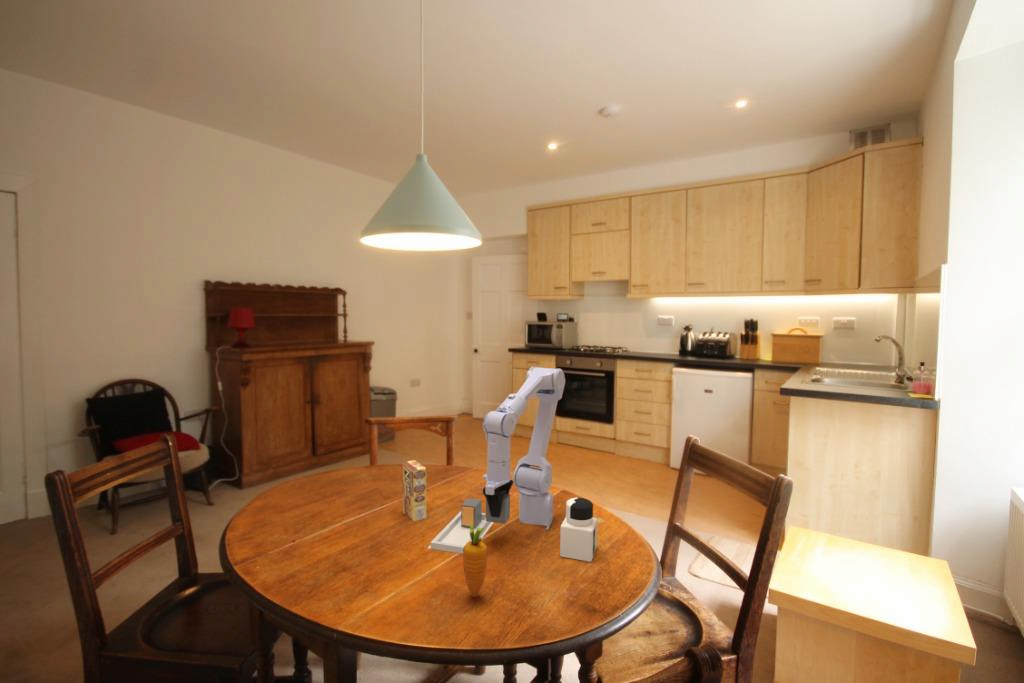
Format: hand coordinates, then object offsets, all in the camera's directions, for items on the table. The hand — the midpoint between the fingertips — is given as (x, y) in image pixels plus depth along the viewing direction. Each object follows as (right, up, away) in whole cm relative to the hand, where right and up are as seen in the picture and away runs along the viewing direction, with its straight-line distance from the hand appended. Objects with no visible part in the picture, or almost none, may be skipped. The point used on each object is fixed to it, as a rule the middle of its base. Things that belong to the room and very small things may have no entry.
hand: (498, 512), depth 117 cm
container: (+20, -9, -2) cm, 22 cm away
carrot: (-4, -10, -21) cm, 24 cm away
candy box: (-25, -8, +17) cm, 31 cm away
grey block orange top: (0, -2, 0) cm, 2 cm away
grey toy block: (-8, -7, +11) cm, 15 cm away
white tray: (-9, -8, +5) cm, 13 cm away
